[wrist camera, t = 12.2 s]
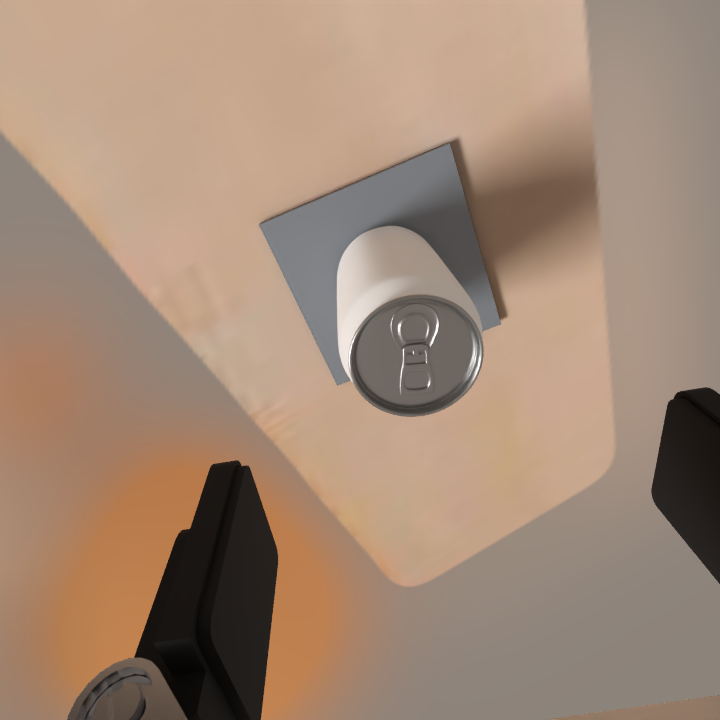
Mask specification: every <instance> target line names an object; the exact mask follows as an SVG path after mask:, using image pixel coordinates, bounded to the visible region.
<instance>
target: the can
mask: <svg viewBox="0 0 720 720" xmlns="http://www.w3.org/2000/svg"><path fill="white" fill-rule="evenodd" d="M337 330H338V348H339V354H340V358H341V362H342V365H343V367H344V370H345V372H346V373H347V375H348V377H349V378H350V380H351V381H352V382H353V383H354V385H355V387H356V388H357V390H358V391H359V393H360V394H361V395H362V396H363V397H364V398H365V399H366V400H367V401H368V402H369V403H370V404H372V405H373V406H375V407H376V408H378V409H380V410H382V411H384V412H387V413H390V414H393V415H398V416H407V417H415V416H424V415H429V414H432V413H436V412H438V411H441V410H443V409H445V408H447V407H449V406H451V405H452V404H454V403H455V402H457V401H458V400H459V399H460V398H461V397H463V396H464V395H465V394H466V393H467V391H468V390H469V389H470V388H471V386H472V385H473V384H474V382H475V380H476V378H477V376H478V374H479V372H480V369H481V366H482V361H483V341H482V338H483V333H482V324H481V320H480V317H479V314H478V312H477V309H476V307H475V305H474V303H473V302H472V300H471V299H470V297H469V296H468V294H467V293H466V291H465V290H464V289H463V287H462V286H461V285H460V283H459V282H458V281H457V279H456V278H455V277H454V275H453V274H452V273H451V272H450V270H449V269H448V268H447V266H446V265H445V264H444V262H443V261H442V260H441V259H440V257H439V256H438V255H437V253H436V252H435V251H434V250H433V248H432V247H431V246H430V245H429V244H428V243H427V242H426V240H424V239H423V238H422V237H421V236H420V235H418V234H417V233H415V232H413V231H411V230H409V229H406V228H404V227H400V226H384V227H379V228H375V229H372V230H369V231H367V232H365V233H363V234H361V235H360V236H358V237H357V238H356V239H355V240H354V241H352V243H351V244H350V245H349V246H348V247H347V249H346V250H345V252H344V253H343V255H342V257H341V260H340V263H339V266H338V272H337Z"/></svg>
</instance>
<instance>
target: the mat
mask: <svg viewBox="0 0 720 720" xmlns="http://www.w3.org/2000/svg"><path fill="white" fill-rule="evenodd" d="M259 226H260V228H261V230H262V232H263V234H264V236H265V238H266V240H267V242H268V244H269V246H270V248H271V250H272V252H273V254H274V256H275V258H276V261H277V263H278V265H279V267H280V269H281V271H282V273H283V275H284V277H285V279H286V281H287V283H288V285H289V287H290V289H291V291H292V293H293V295H294V298H295V300H296V302H297V304H298V306H299V308H300V310H301V312H302V314H303V316H304V318H305V320H306V322H307V324H308V326H309V328H310V330H311V332H312V335H313V337H314V339H315V341H316V343H317V345H318V347H319V349H320V351H321V353H322V355H323V357H324V359H325V361H326V363H327V365H328V367H329V369H330V372H331V374H332V376H333V378H334V380H335V382H336V384H337V385H339V384H342V383H345V382H347V381H350V378H349V377H348V375H347V373H346V372H345V370H344V367H343V365H342V362H341V358H340V354H339V348H338V330H337V272H338V266H339V263H340V260H341V257H342V255H343V253H344V252H345V250H346V249H347V247H348V246H349V245H350V244H351V243H352V241H354V240H355V239H356V238H357V237H358V236H360V235H361V234H363V233H365V232H367V231H369V230H372V229H375V228H379V227H384V226H400V227H404V228H406V229H409V230H411V231H413V232H415V233H417V234H418V235H420V236H421V237H422V238H423V239H424V240H426V242H427V243H428V244H429V245H430V246H431V247H432V248H433V250H434V251H435V252H436V253H437V255H438V256H439V257H440V259H441V260H442V261H443V262H444V264H445V265H446V266H447V268H448V269H449V270H450V272H451V273H452V274H453V275H454V277H455V278H456V279H457V281H458V282H459V283H460V285H461V286H462V287H463V289H464V290H465V291H466V293H467V294H468V296H469V297H470V299H471V300H472V302H473V303H474V305H475V307H476V309H477V312H478V314H479V317H480V320H481V324H482V331H484V330H487V329H490V328H492V327H495V326H498V325H500V324H501V322H500V319H499V315H498V312H497V308H496V304H495V301H494V297H493V294H492V290H491V287H490V283H489V280H488V276H487V273H486V269H485V266H484V262H483V259H482V255H481V251H480V248H479V244H478V241H477V237H476V234H475V230H474V227H473V223H472V220H471V216H470V213H469V209H468V206H467V202H466V199H465V195H464V191H463V188H462V184H461V181H460V177H459V174H458V170H457V167H456V163H455V160H454V156H453V153H452V149H451V146H450V143H446V144H444V145H442V146H439V147H437V148H435V149H432V150H430V151H428V152H425V153H423V154H421V155H418V156H416V157H413V158H411V159H409V160H406V161H404V162H402V163H399V164H397V165H395V166H392V167H390V168H388V169H385V170H383V171H381V172H378V173H376V174H374V175H371V176H369V177H367V178H364V179H362V180H360V181H357V182H355V183H353V184H350V185H348V186H346V187H343V188H341V189H339V190H336V191H334V192H332V193H329V194H327V195H325V196H322V197H320V198H318V199H315V200H313V201H311V202H308V203H306V204H304V205H301V206H299V207H297V208H294V209H292V210H290V211H287V212H285V213H283V214H280V215H278V216H276V217H273V218H271V219H269V220H266V221H264V222H262V223H260V224H259Z"/></svg>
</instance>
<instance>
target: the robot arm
mask: <svg viewBox="0 0 720 720" xmlns="http://www.w3.org/2000/svg"><path fill="white" fill-rule="evenodd" d="M652 497H653V500H654V503H655V505H656V506H657V507H658V508H659V510H660V511H661V512H662V514H663V515H664V516H665V517H666V518H667V520H668V521H669V522H670V523H671V525H672V526H673V527H674V528H675V530H676V531H677V532H678V533H679V534H680V536H681V537H682V538H683V539H684V541H685V542H686V543H687V544H688V546H689V547H690V548H691V549H692V550H693V552H694V553H695V554H696V555H697V556H698V558H699V559H700V560H701V561H702V563H703V564H704V565H705V566H706V568H707V569H708V570H709V571H710V573H711V574H712V575H713V576H714V577H715V579H716V580H717V581H718V582H719V584H720V394H718V393H717V392H716V391H714V390H712V389H710V388H699V389H692V390H686V391H680V392H678V393H677V394H676V395H675V397H674V399H673V400H670V401H669V402H668V405H667V410H666V416H665V421H664V426H663V431H662V437H661V442H660V447H659V453H658V458H657V463H656V469H655V474H654V479H653V484H652ZM277 568H278V553H277V548H276V544H275V541H274V538H273V535H272V532H271V529H270V526H269V523H268V520H267V517H266V514H265V511H264V509H263V506H262V502H261V500H260V497H259V494H258V491H257V488H256V485H255V482H254V479H253V476H252V473H251V470H250V468H249V466H241V464H240V462H239V461H230V462H224V463H217V464H213V465H212V466H211V468H210V470H209V473H208V476H207V479H206V482H205V485H204V488H203V491H202V494H201V498H200V501H199V504H198V507H197V510H196V513H195V516H194V519H193V522H192V525H191V528H190V529H186V530H182V531H181V532H180V533H179V534H178V536H177V538H176V540H175V543H174V546H173V548H172V551H171V554H170V557H169V560H168V563H167V566H166V569H165V572H164V574H163V577H162V580H161V583H160V585H159V588H158V591H157V594H156V597H155V600H154V603H153V605H152V609H151V611H150V614H149V617H148V620H147V623H146V625H145V629H144V631H143V634H142V637H141V640H140V642H139V645H138V648H137V651H136V654H135V657H134V658H128V659H125V660H122V661H120V662H117V663H114V664H113V665H111V666H110V667H108V668H106V669H105V670H103V671H102V672H100V673H99V674H98V675H97V676H96V677H95V678H94V679H93V680H92V681H91V682H90V683H88V684H87V686H86V687H85V688H84V689H83V691H82V692H81V693H80V695H79V696H78V697H77V699H76V700H75V703H74V704H73V707H72V709H71V711H70V713H69V715H68V719H67V720H261V713H262V703H263V695H264V686H265V677H266V667H267V658H268V649H269V640H270V631H271V622H272V613H273V604H274V594H275V586H276V585H275V584H276V577H277ZM548 720H720V695H717V696H710V697H702V698H695V699H688V700H681V701H674V702H666V703H659V704H653V705H645V706H638V707H632V708H625V709H618V710H610V711H604V712H597V713H589V714H583V715H576V716H569V717H562V718H555V719H548Z"/></svg>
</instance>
